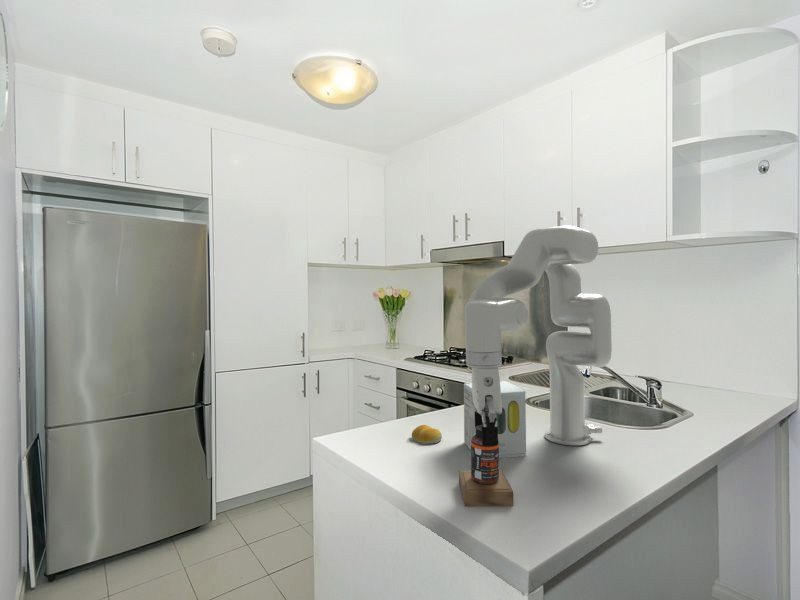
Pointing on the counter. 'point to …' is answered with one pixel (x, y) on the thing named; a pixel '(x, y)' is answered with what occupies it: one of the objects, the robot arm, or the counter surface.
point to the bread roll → (426, 434)
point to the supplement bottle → (484, 460)
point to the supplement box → (501, 420)
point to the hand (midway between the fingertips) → (485, 436)
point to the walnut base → (485, 491)
